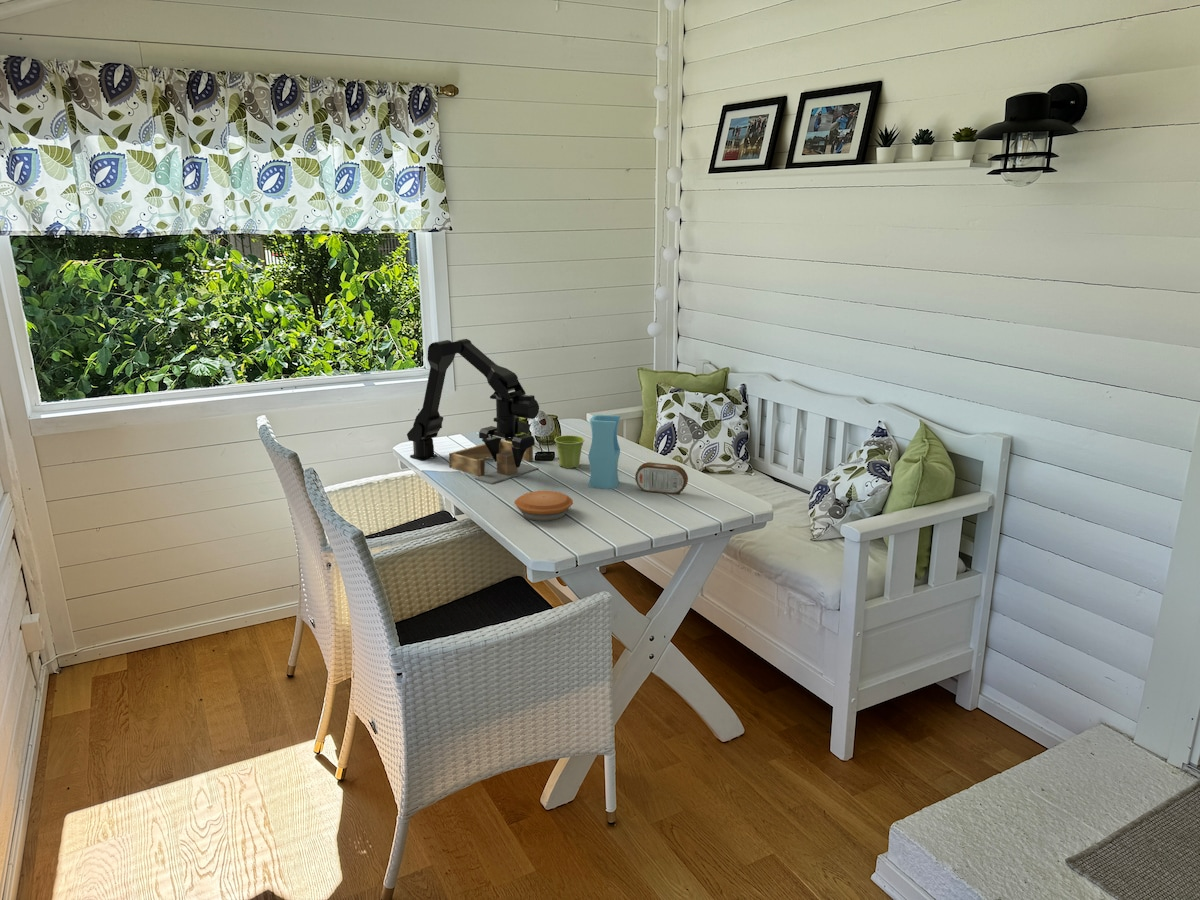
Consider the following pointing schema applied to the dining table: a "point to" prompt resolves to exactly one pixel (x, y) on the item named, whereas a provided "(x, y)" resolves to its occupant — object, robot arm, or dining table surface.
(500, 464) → the block
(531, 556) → the dining table surface
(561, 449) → the plant pot
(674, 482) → the tin
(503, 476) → the mat
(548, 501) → the pie
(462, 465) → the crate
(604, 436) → the wavy blue tube
